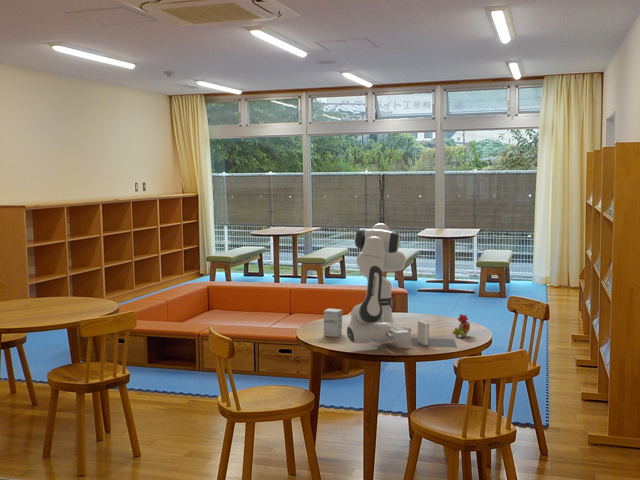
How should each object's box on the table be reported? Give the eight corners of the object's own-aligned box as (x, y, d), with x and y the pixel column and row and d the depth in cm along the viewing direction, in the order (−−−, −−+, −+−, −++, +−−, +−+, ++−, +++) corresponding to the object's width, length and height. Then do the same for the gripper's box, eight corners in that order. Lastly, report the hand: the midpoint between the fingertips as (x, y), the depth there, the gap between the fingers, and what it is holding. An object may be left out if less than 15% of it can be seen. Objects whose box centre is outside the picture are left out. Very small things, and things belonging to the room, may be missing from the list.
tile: (424, 345, 302) (425, 323, 301) (417, 341, 309) (417, 320, 308) (428, 344, 303) (428, 323, 302) (421, 341, 309) (421, 320, 308)
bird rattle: (459, 338, 327) (449, 333, 321) (465, 317, 329) (455, 312, 323) (470, 341, 322) (459, 336, 316) (476, 319, 324) (466, 314, 318)
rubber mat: (412, 347, 300) (412, 346, 300) (411, 339, 316) (411, 337, 316) (457, 348, 298) (457, 347, 298) (453, 340, 314) (453, 339, 314)
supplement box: (323, 336, 322) (323, 310, 321) (328, 333, 329) (328, 308, 328) (337, 337, 319) (337, 311, 318) (342, 334, 326) (342, 309, 325)
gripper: (391, 330, 289) (420, 327, 293) (373, 320, 308) (400, 318, 312) (391, 344, 289) (420, 341, 294) (373, 333, 309) (400, 331, 313)
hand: (409, 329), depth 303 cm, fingers closed
